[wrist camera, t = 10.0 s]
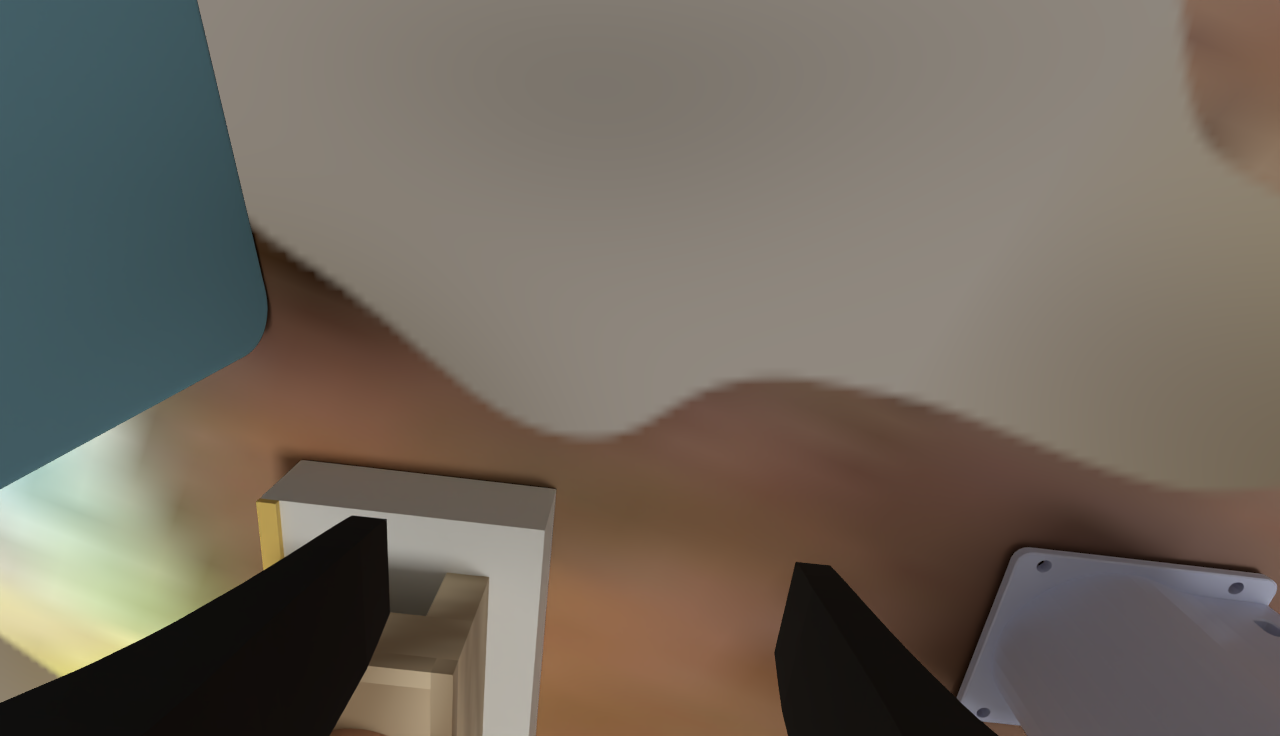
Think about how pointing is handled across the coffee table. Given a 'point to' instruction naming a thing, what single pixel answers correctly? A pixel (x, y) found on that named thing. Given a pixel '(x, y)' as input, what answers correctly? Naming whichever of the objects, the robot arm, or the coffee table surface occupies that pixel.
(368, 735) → the pink rounded cylinder
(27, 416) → the data package
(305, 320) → the coffee table surface
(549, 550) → the dock
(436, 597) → the wooden box
